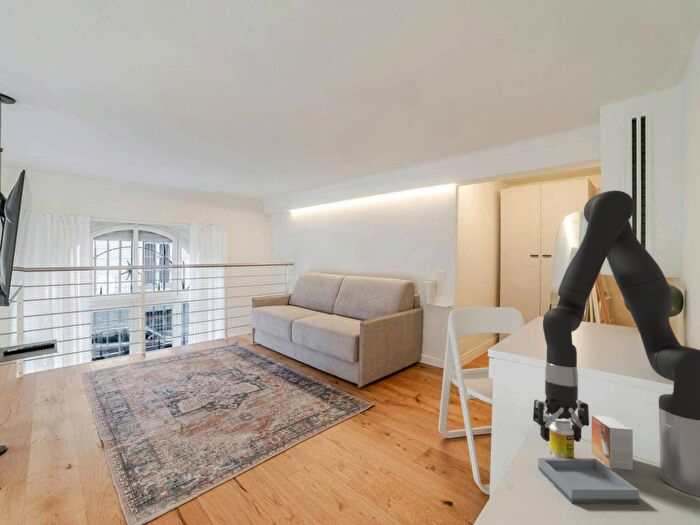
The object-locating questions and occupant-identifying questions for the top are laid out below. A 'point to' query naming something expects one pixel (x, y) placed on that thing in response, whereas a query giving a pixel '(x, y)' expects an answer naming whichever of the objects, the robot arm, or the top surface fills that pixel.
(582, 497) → the slate tray
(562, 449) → the supplement bottle
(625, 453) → the small box
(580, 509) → the top surface
